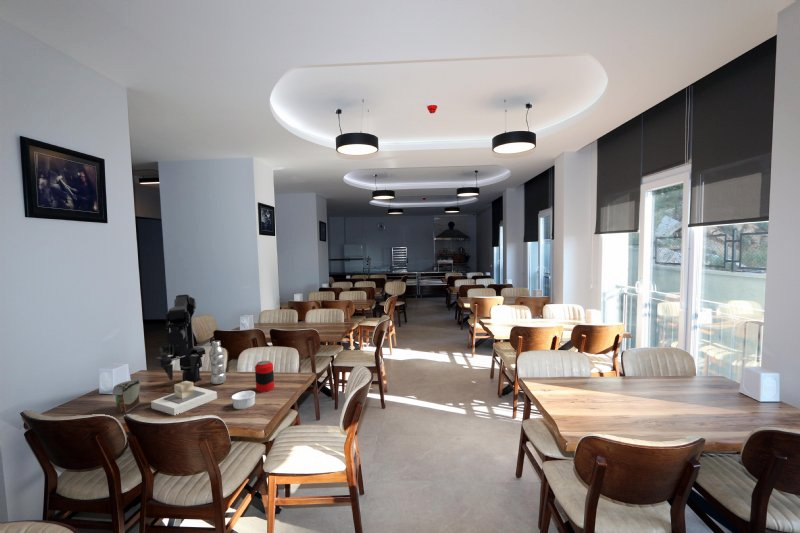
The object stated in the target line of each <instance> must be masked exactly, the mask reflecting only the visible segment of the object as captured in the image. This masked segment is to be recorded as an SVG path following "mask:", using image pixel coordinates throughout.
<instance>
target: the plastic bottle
mask: <svg viewBox="0 0 800 533" xmlns="http://www.w3.org/2000/svg"><path fill="white" fill-rule="evenodd" d="M221 345H222V344H221V340H213V341H211V348H210V350H209V352H208V356H209V360H210V367H211V368H210V370H211V371H210V383H211V384H212V385H220V384H223V383H225V382H226V378H227V376H226V375H227V374H226V372H225V364H224V363H225V361H224V360H225V359H224V358H225V349H224V348H223V347H222V346H221Z"/></svg>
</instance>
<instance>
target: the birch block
mask: <svg viewBox="0 0 800 533" xmlns="http://www.w3.org/2000/svg"><path fill="white" fill-rule="evenodd" d="M173 386H174V393H175V397H178V398H182V399H183V398H185V397H188V396H191V395H194V382H189V381H184V382H182V381H181V382H178V383H175V384H174V385H173Z"/></svg>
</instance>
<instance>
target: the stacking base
mask: <svg viewBox="0 0 800 533" xmlns="http://www.w3.org/2000/svg"><path fill="white" fill-rule="evenodd" d="M193 386H194V385H193ZM216 399H218V391H215V390H211V389H207V388H202V387H198V386H194V395H191V396H188V397H185V398H183V399H182V398H178V397H175V392H173V393H171V394H168V395H164V396H163V397H160V398H157V399H156V398H155V399H154V400H151V401H150V406H151V409H152V410H156V411H159V412H162V413H167V414H168V415H172V416H177V415H179V413H180V414H182V413H185V412H187V411H190V410H191V409H195V408H196V407H199V406H202V405H204V404H206V403H209V402H211V401H214V400H216ZM176 414H177V415H176Z"/></svg>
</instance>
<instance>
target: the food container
mask: <svg viewBox="0 0 800 533" xmlns="http://www.w3.org/2000/svg"><path fill="white" fill-rule="evenodd" d="M140 385H141V380H140V379H139V378H137V379H132V380H127V381H123V382H120V383H118V384H116V385H114V386H113V388H112V394H113V395H114V397H115V402H116V407H117V412H118V413H119V414H127V413H128V412H130V411H131V410H132V409H134V408H136V407H137V406H139V405H140V402H141V401H140V400H141V399H140Z"/></svg>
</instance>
